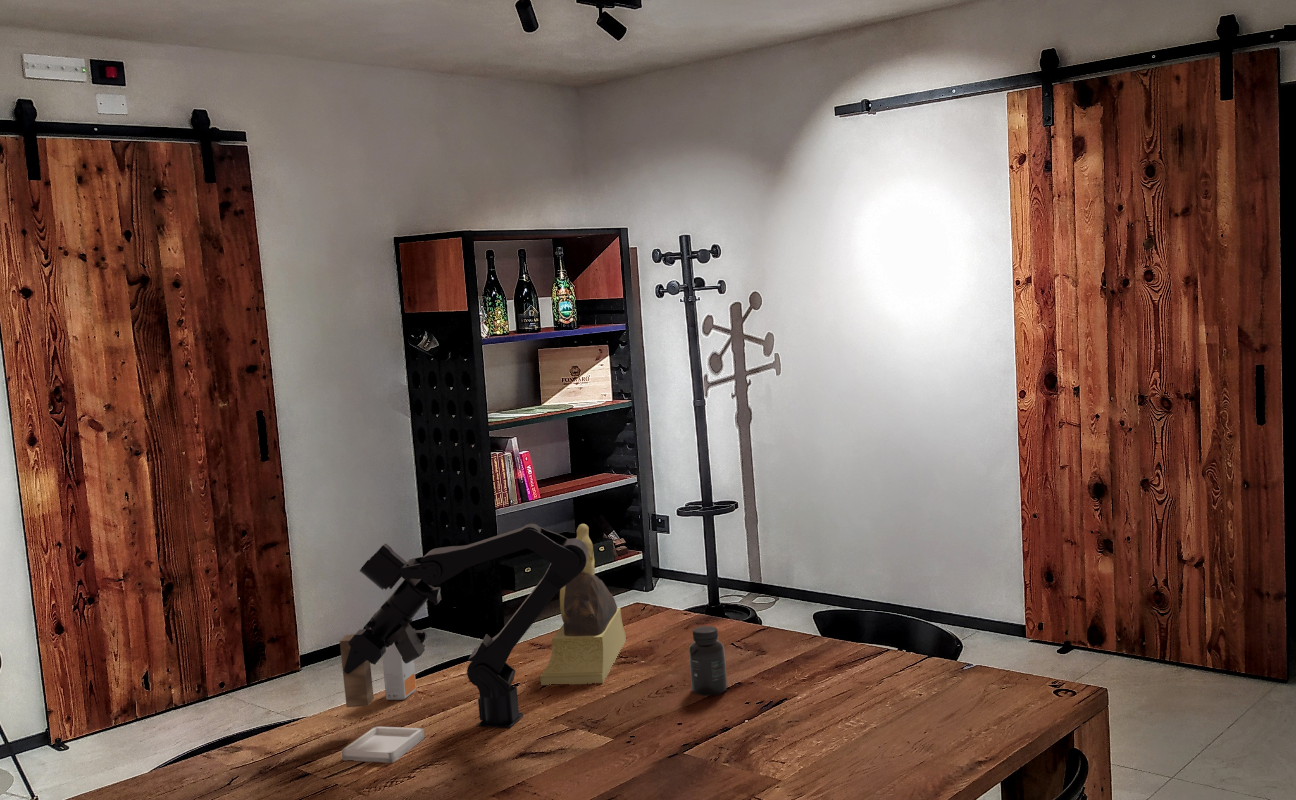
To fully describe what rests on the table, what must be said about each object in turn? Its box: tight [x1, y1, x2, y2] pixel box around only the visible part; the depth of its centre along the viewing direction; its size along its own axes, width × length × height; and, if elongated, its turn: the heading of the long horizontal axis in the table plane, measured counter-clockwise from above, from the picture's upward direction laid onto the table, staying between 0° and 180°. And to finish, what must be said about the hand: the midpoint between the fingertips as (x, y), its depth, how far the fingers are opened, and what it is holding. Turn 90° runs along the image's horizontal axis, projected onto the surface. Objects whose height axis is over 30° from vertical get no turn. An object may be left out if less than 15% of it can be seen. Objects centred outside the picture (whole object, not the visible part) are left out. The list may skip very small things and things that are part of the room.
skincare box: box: [381, 643, 417, 701], centre depth 222 cm, size 6×4×12 cm
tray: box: [341, 725, 425, 764], centre depth 194 cm, size 10×11×2 cm
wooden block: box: [339, 633, 375, 708], centre depth 202 cm, size 4×4×12 cm
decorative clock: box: [540, 523, 627, 686], centre depth 234 cm, size 28×13×30 cm, turn 172°
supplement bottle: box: [688, 625, 728, 697], centre depth 211 cm, size 7×7×12 cm
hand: (349, 668), depth 202 cm, fingers closed on wooden block, 4 cm apart
